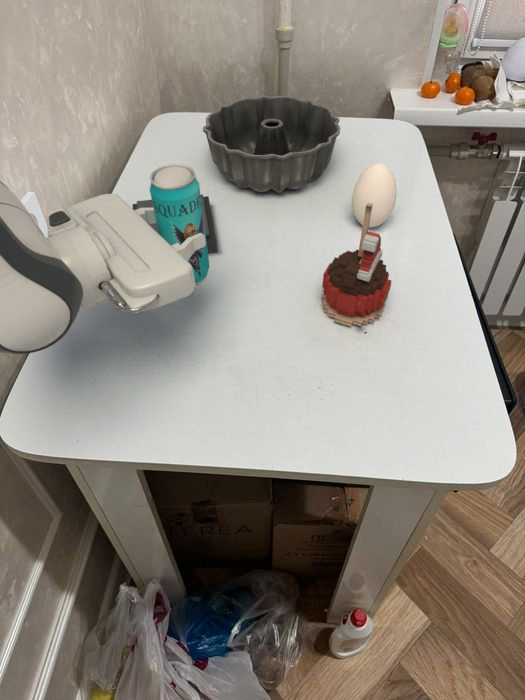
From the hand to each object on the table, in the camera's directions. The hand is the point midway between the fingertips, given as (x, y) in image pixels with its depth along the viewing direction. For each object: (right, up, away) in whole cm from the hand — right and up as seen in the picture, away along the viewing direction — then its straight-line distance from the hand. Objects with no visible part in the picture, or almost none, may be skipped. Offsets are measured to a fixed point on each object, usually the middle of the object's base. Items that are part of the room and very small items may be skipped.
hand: (187, 223), depth 63 cm
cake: (+23, -9, +14) cm, 29 cm away
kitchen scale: (-6, +5, +27) cm, 29 cm away
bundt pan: (+11, +21, +41) cm, 48 cm away
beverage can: (-1, -6, +6) cm, 8 cm away
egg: (+29, +7, +28) cm, 41 cm away
